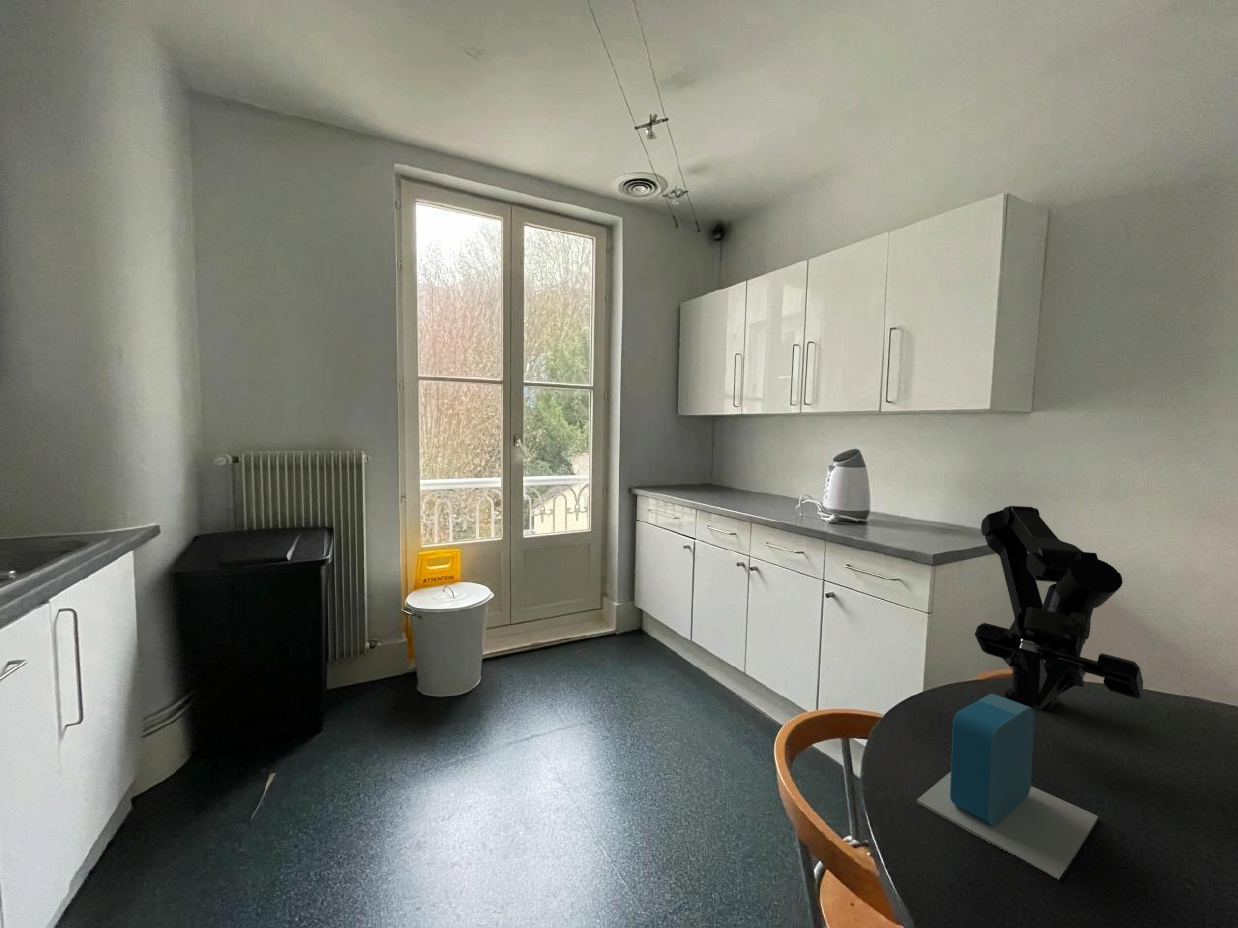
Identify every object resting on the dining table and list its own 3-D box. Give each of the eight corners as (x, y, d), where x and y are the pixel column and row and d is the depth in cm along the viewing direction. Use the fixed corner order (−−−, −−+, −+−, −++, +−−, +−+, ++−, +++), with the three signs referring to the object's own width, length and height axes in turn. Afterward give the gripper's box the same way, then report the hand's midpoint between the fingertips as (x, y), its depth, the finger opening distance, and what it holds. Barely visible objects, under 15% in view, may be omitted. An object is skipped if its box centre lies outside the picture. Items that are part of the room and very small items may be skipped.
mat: (967, 759, 72) (967, 757, 72) (1098, 819, 61) (1098, 816, 61) (916, 802, 63) (916, 799, 63) (1058, 881, 52) (1059, 878, 52)
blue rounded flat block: (991, 775, 68) (994, 690, 68) (1031, 794, 65) (1035, 704, 64) (948, 806, 62) (952, 713, 62) (990, 830, 58) (994, 730, 58)
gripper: (981, 574, 82) (949, 654, 76) (1143, 605, 67) (1118, 708, 61) (998, 612, 87) (969, 690, 81) (1152, 649, 71) (1130, 749, 66)
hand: (1036, 706), depth 72 cm, fingers closed
